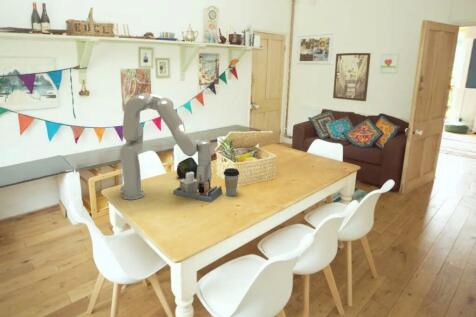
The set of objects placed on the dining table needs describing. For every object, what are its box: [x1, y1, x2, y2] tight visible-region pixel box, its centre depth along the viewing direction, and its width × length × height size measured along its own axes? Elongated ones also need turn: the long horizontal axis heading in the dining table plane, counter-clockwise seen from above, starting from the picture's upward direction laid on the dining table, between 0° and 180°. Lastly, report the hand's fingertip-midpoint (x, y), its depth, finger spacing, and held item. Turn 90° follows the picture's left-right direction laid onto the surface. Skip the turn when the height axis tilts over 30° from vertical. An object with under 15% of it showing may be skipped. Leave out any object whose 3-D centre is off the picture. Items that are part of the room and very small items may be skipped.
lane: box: [172, 185, 223, 203], centre depth 191 cm, size 26×14×5 cm, turn 66°
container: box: [179, 171, 199, 194], centre depth 193 cm, size 8×8×13 cm
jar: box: [199, 180, 209, 197], centre depth 189 cm, size 6×6×9 cm
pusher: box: [206, 185, 218, 197], centre depth 188 cm, size 1×11×5 cm, turn 156°
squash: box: [176, 156, 198, 179], centre depth 216 cm, size 14×15×15 cm
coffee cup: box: [222, 167, 240, 197], centre depth 191 cm, size 9×9×15 cm
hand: (204, 190), depth 189 cm, fingers open, 6 cm apart
